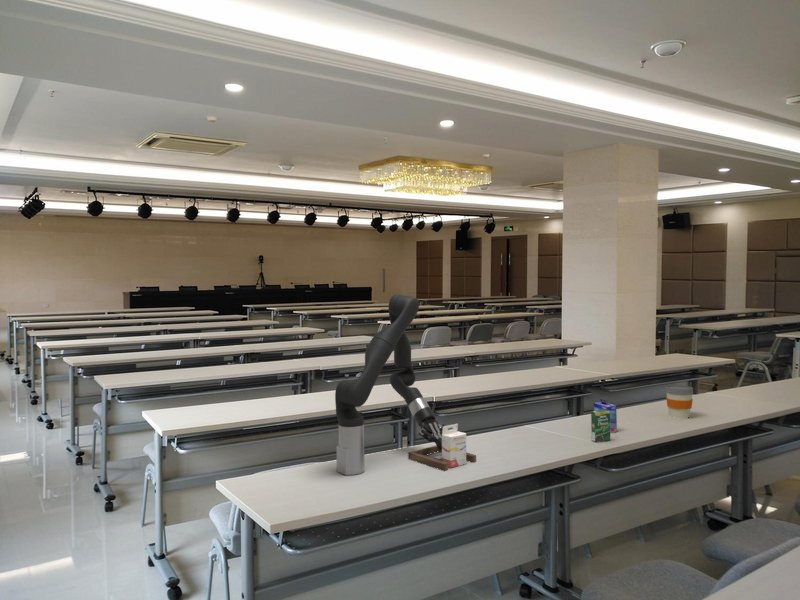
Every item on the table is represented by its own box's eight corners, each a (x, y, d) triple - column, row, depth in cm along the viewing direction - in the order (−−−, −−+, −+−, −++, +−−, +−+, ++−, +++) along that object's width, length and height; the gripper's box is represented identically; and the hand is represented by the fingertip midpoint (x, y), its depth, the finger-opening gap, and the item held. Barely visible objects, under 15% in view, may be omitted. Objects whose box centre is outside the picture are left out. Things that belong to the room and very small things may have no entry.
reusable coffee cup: (698, 419, 294) (698, 389, 294) (672, 420, 294) (672, 389, 294) (685, 414, 307) (685, 384, 306) (661, 414, 307) (661, 385, 306)
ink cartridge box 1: (450, 468, 221) (450, 429, 221) (441, 465, 225) (441, 426, 225) (467, 463, 227) (466, 425, 226) (457, 460, 231) (457, 422, 230)
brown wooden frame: (444, 471, 219) (444, 464, 219) (408, 458, 234) (408, 452, 234) (476, 461, 230) (476, 455, 229) (440, 450, 245) (440, 444, 245)
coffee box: (594, 442, 255) (594, 412, 254) (590, 441, 257) (590, 410, 257) (610, 441, 257) (611, 410, 257) (606, 439, 260) (606, 409, 259)
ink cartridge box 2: (593, 428, 279) (593, 397, 279) (602, 427, 281) (602, 396, 281) (607, 433, 270) (607, 401, 270) (617, 432, 272) (617, 400, 272)
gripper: (413, 408, 234) (435, 446, 225) (438, 403, 242) (460, 440, 233) (404, 419, 238) (425, 457, 229) (429, 414, 246) (450, 450, 237)
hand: (443, 448), depth 231 cm, fingers closed
